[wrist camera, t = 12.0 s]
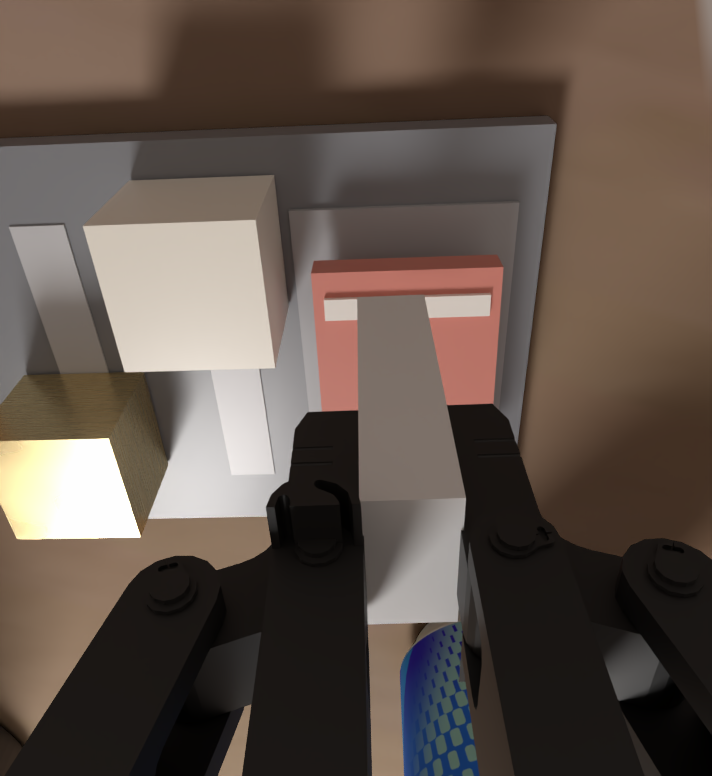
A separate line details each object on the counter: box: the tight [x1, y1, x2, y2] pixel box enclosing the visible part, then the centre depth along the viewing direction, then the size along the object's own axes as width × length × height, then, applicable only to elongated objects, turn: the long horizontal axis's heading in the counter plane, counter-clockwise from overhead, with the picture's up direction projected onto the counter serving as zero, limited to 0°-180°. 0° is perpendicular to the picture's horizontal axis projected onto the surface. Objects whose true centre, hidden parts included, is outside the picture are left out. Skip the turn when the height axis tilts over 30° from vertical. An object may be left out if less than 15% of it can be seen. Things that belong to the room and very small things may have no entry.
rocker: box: [311, 255, 504, 411], centre depth 19 cm, size 5×8×1 cm, turn 2°
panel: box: [0, 116, 557, 519], centre depth 21 cm, size 18×14×2 cm
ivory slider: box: [83, 175, 289, 372], centre depth 18 cm, size 4×4×4 cm
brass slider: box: [0, 372, 168, 539], centre depth 21 cm, size 4×4×4 cm
